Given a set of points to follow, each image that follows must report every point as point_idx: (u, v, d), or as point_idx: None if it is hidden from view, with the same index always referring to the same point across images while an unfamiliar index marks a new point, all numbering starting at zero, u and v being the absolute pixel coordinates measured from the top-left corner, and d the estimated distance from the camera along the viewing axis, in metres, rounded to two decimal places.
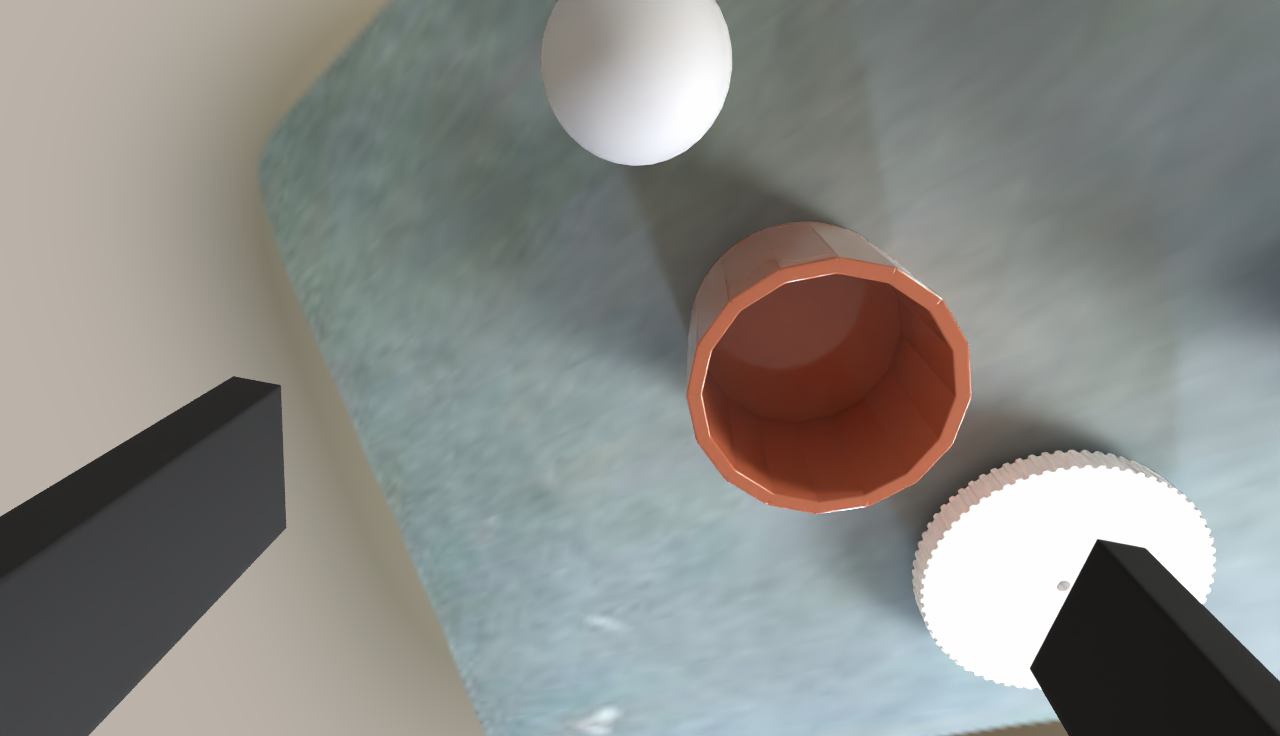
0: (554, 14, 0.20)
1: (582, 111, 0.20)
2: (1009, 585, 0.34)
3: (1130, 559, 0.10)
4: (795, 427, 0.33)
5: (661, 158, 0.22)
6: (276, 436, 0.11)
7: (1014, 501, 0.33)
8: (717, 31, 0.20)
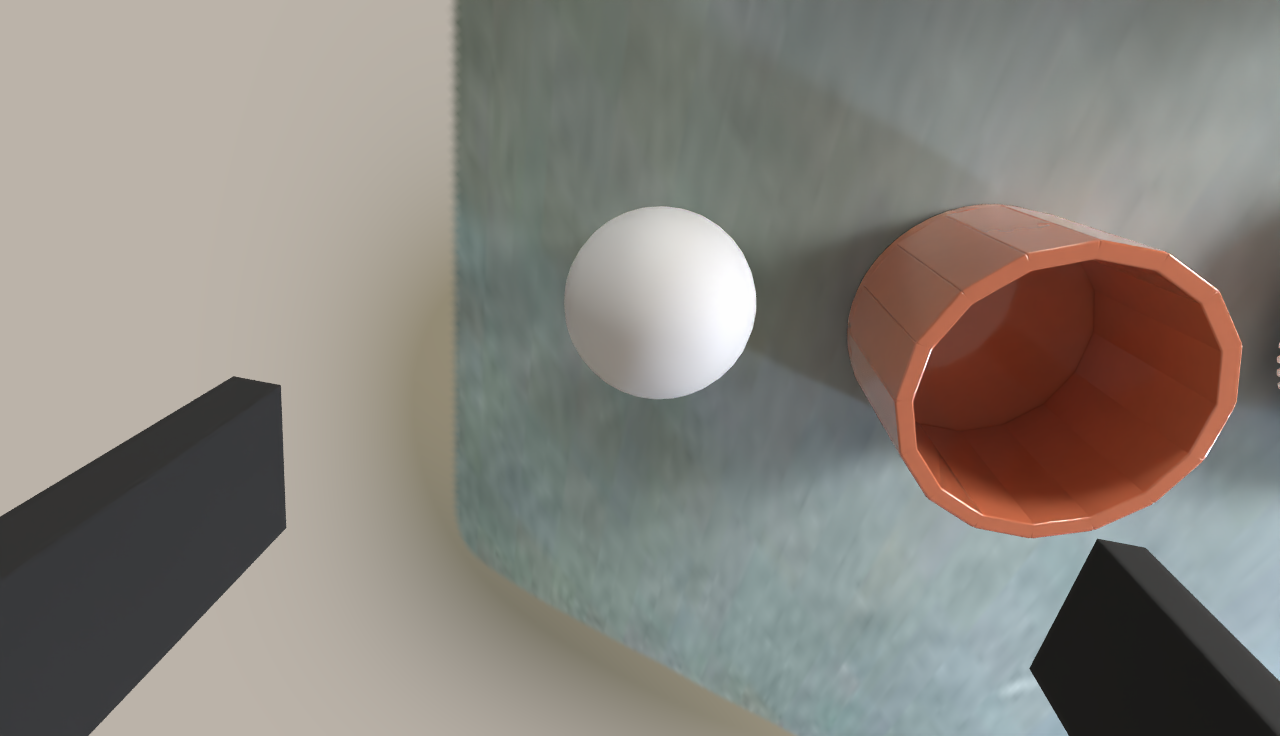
0: (572, 335, 0.21)
1: (651, 388, 0.20)
2: None
3: (1130, 559, 0.10)
4: (1049, 409, 0.29)
5: (739, 355, 0.21)
6: (277, 437, 0.11)
7: None
8: (698, 239, 0.19)
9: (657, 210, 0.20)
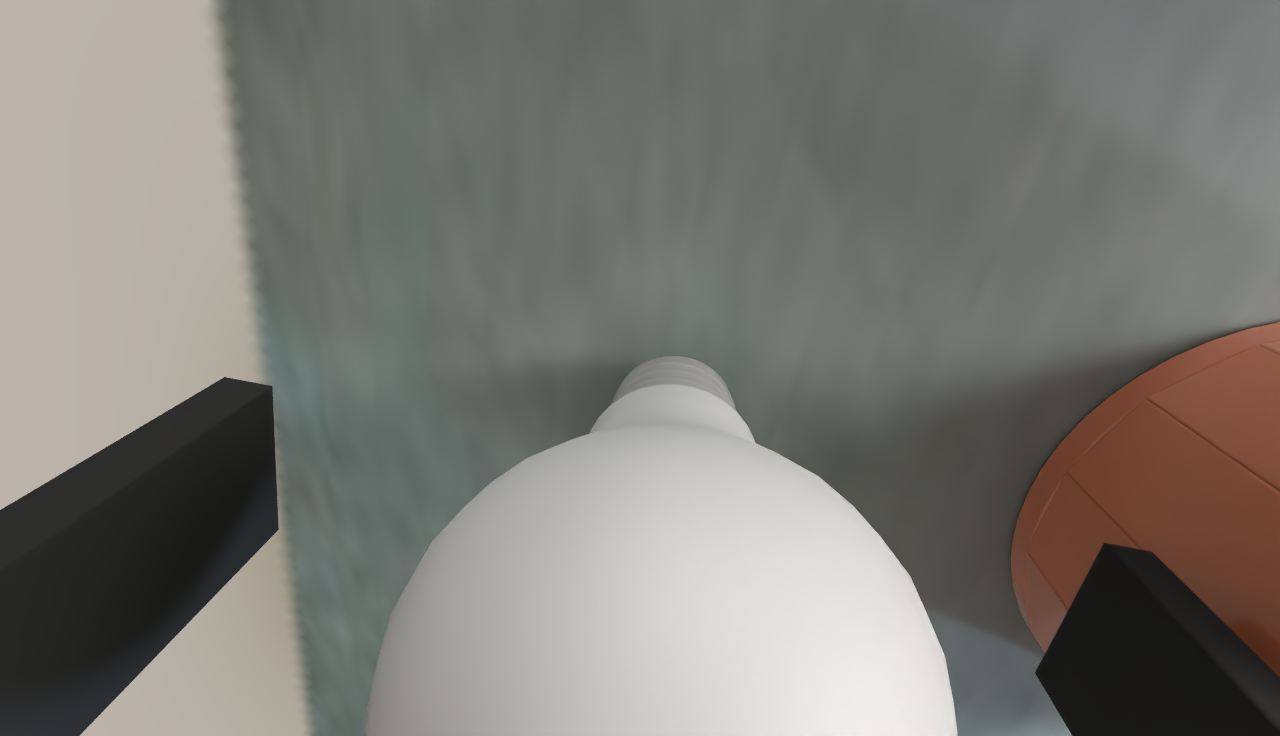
0: None
1: None
2: None
3: (1137, 563, 0.10)
4: None
5: None
6: (268, 438, 0.11)
7: None
8: (805, 644, 0.05)
9: (651, 486, 0.06)
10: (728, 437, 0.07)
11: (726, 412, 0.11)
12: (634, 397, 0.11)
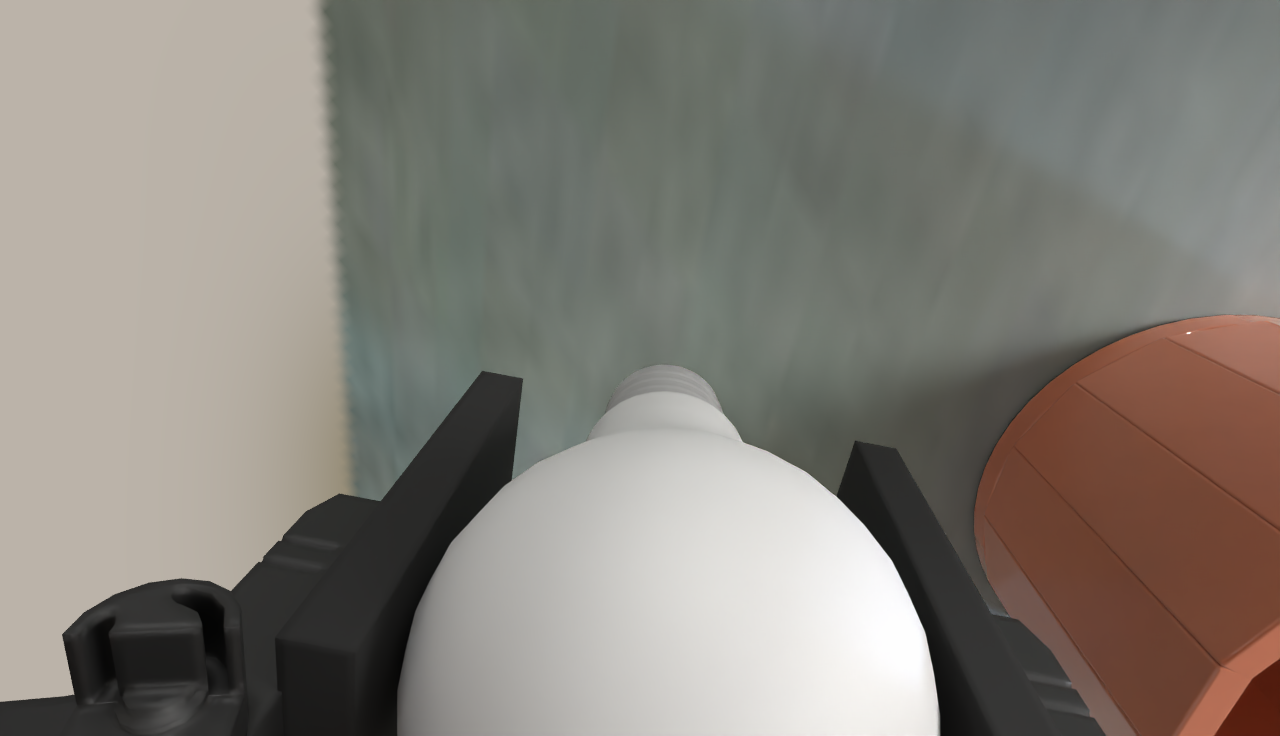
0: None
1: None
2: None
3: (875, 455, 0.12)
4: None
5: None
6: (516, 423, 0.12)
7: None
8: (802, 619, 0.06)
9: (659, 483, 0.07)
10: (724, 438, 0.08)
11: (716, 417, 0.12)
12: (628, 405, 0.12)
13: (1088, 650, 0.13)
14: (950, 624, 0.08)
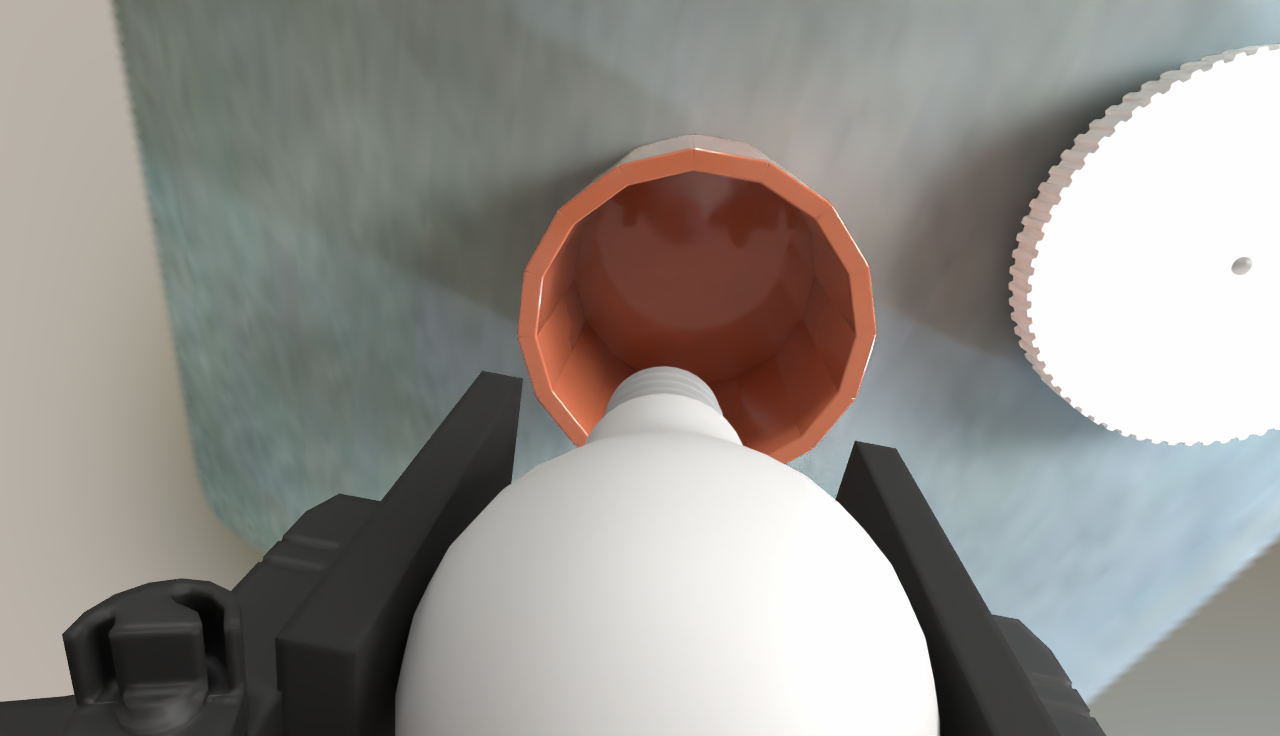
0: None
1: None
2: (1171, 319, 0.24)
3: (875, 455, 0.12)
4: (775, 359, 0.27)
5: None
6: (516, 424, 0.12)
7: (1072, 234, 0.23)
8: (800, 624, 0.06)
9: (657, 488, 0.07)
10: (723, 442, 0.08)
11: (716, 419, 0.12)
12: (628, 407, 0.12)
13: None
14: (950, 624, 0.08)
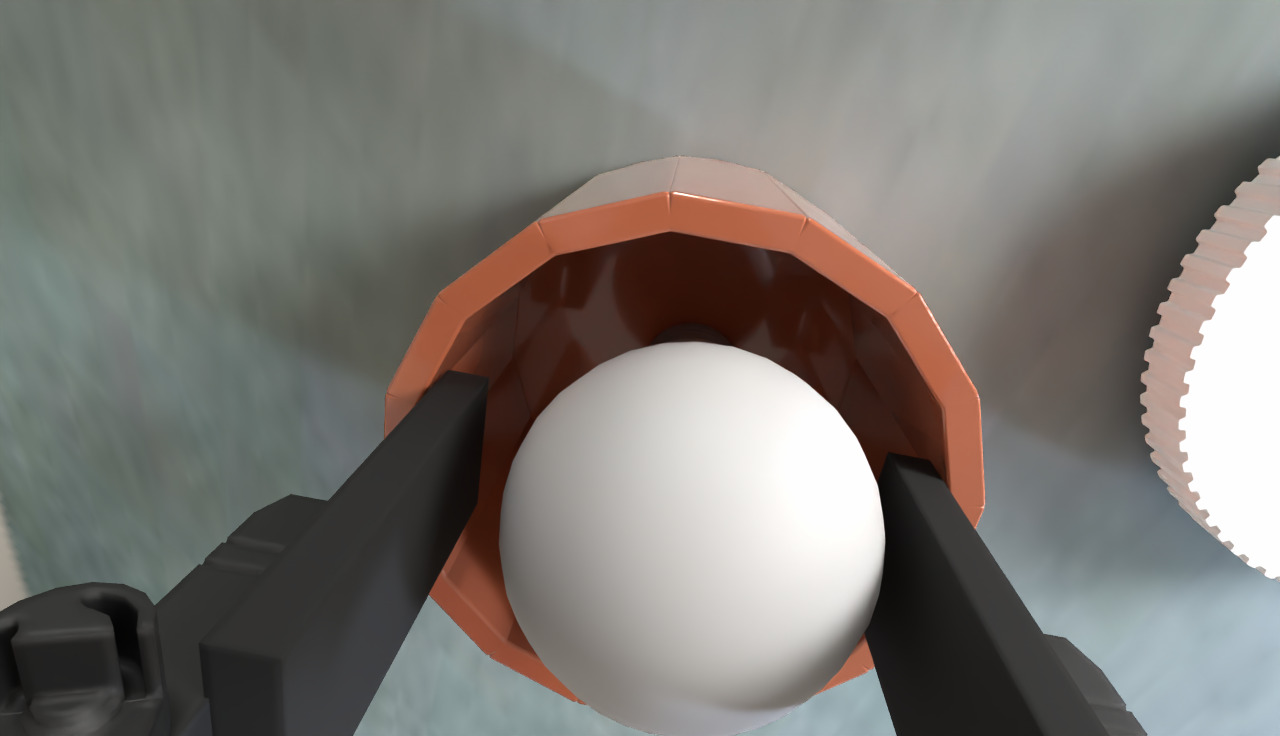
0: (513, 609, 0.10)
1: None
2: None
3: (909, 466, 0.12)
4: None
5: None
6: (483, 422, 0.12)
7: (1259, 312, 0.15)
8: (782, 444, 0.09)
9: (687, 364, 0.10)
10: (735, 347, 0.11)
11: None
12: None
13: None
14: (1004, 646, 0.08)
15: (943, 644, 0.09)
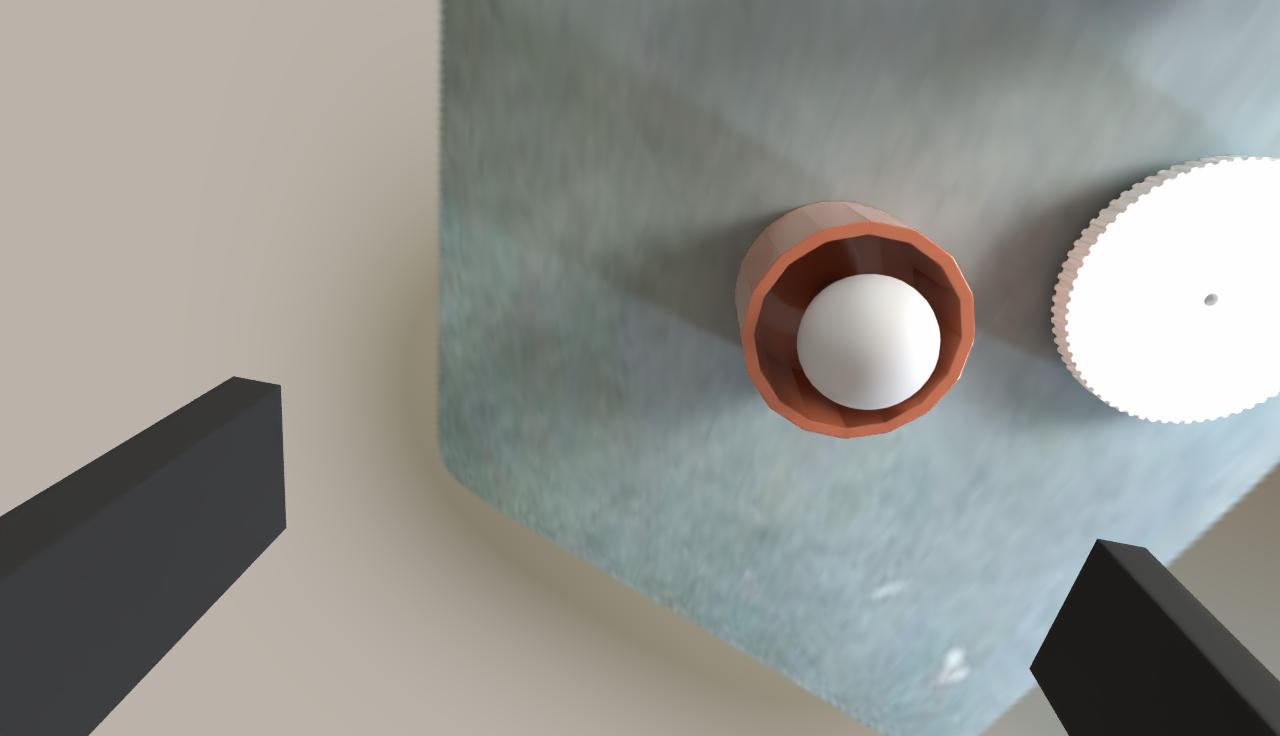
0: (810, 363, 0.29)
1: (870, 401, 0.29)
2: (1163, 334, 0.35)
3: (1130, 559, 0.10)
4: None
5: None
6: (277, 437, 0.11)
7: (1097, 276, 0.34)
8: (911, 300, 0.28)
9: (876, 278, 0.29)
10: None
11: None
12: None
13: (739, 317, 0.34)
14: None
15: None
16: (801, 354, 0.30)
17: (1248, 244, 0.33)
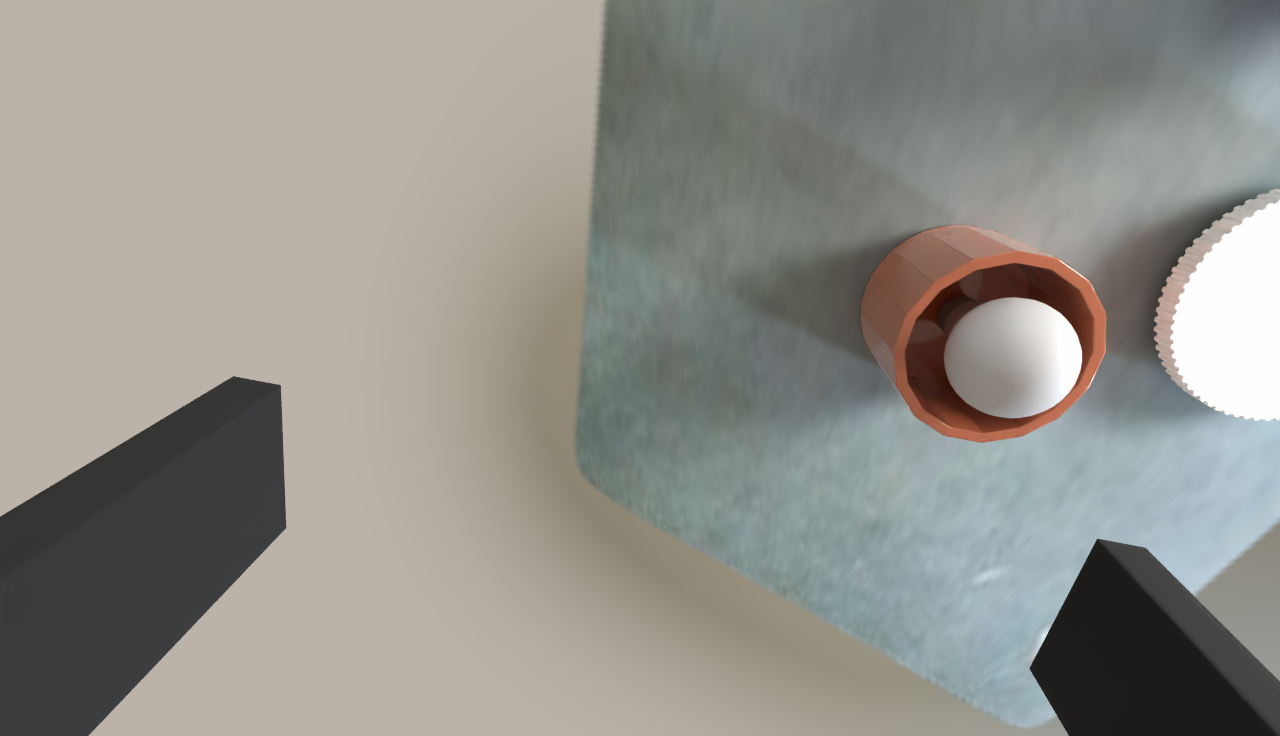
0: (964, 378, 0.33)
1: (1020, 412, 0.33)
2: (1260, 341, 0.39)
3: (1130, 559, 0.10)
4: None
5: None
6: (277, 436, 0.11)
7: (1202, 290, 0.38)
8: (1059, 322, 0.32)
9: (1024, 302, 0.33)
10: None
11: None
12: (967, 303, 0.38)
13: (883, 335, 0.37)
14: None
15: None
16: (953, 370, 0.34)
17: None
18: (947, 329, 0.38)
